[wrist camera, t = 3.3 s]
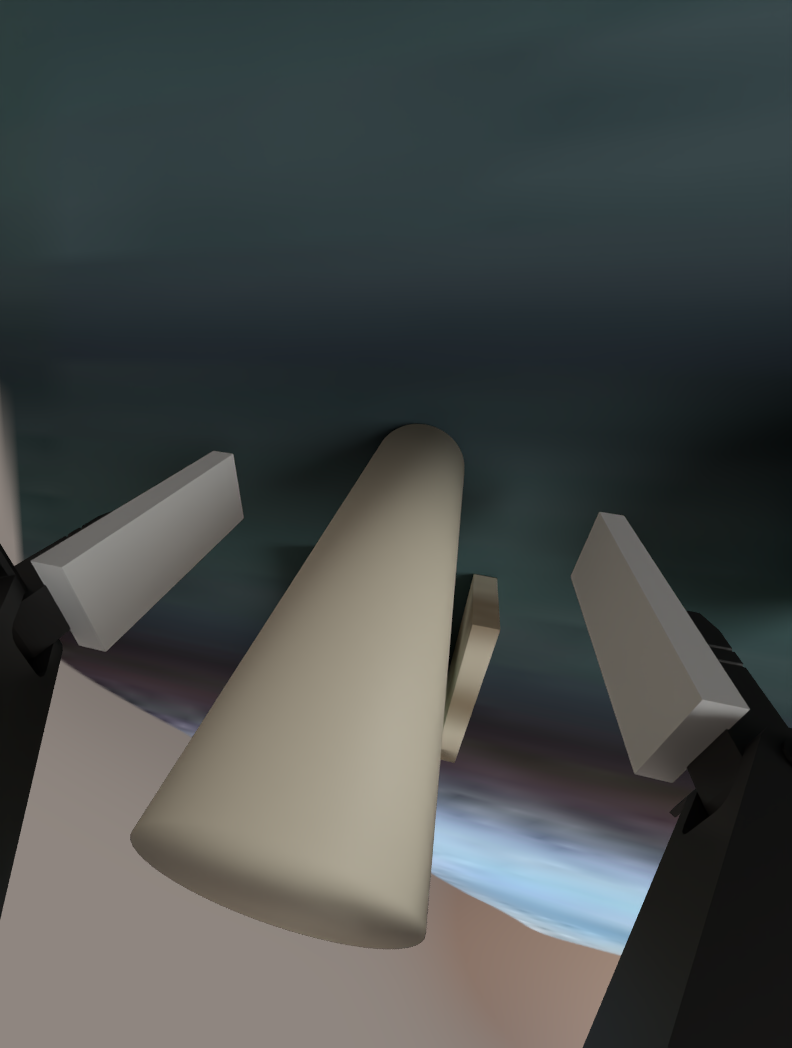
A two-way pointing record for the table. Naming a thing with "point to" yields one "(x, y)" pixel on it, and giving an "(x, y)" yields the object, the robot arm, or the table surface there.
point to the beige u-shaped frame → (469, 661)
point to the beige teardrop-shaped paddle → (332, 723)
